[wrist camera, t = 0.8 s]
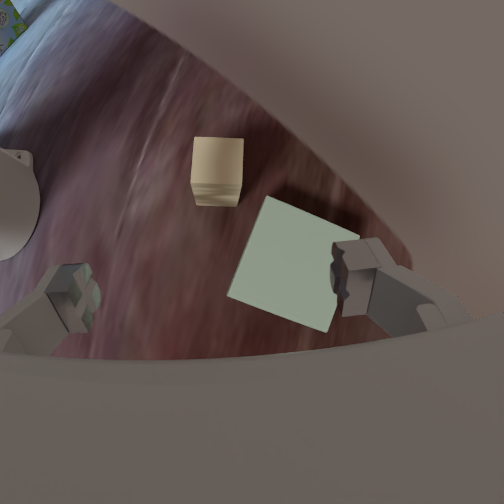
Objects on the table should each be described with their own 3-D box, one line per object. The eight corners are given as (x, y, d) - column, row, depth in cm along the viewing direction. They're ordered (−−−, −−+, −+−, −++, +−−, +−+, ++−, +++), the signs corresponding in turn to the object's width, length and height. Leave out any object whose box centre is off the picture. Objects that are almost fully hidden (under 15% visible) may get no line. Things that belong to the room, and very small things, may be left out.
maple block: (196, 205, 40) (190, 182, 31) (199, 167, 40) (194, 137, 31) (236, 206, 40) (242, 184, 31) (238, 168, 41) (243, 138, 32)
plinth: (226, 294, 39) (227, 296, 35) (262, 204, 40) (266, 195, 36) (316, 328, 39) (326, 332, 35) (347, 240, 41) (360, 235, 37)
